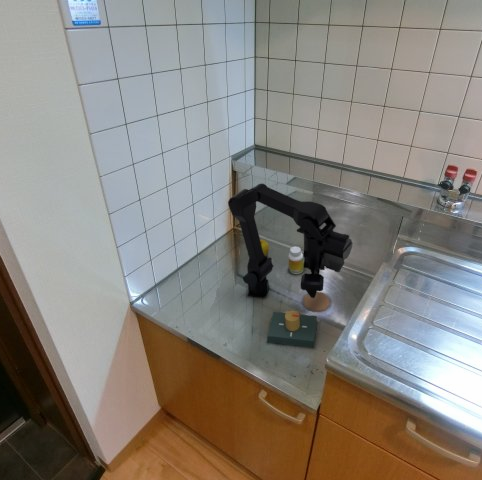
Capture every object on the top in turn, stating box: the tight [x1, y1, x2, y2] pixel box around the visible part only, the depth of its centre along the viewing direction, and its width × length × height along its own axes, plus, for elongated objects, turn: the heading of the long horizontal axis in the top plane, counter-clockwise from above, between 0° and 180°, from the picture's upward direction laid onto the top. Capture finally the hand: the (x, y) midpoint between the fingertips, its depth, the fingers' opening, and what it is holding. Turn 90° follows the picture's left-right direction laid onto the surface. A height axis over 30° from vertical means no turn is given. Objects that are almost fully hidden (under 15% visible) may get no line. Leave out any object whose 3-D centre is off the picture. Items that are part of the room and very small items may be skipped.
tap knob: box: [285, 309, 300, 331], centre depth 114 cm, size 4×4×5 cm
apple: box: [260, 238, 270, 256], centre depth 148 cm, size 6×6×8 cm
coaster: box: [302, 291, 331, 313], centre depth 127 cm, size 9×9×1 cm
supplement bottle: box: [288, 246, 304, 275], centre depth 139 cm, size 5×5×10 cm
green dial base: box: [267, 311, 318, 348], centre depth 116 cm, size 14×10×3 cm
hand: (314, 286), depth 114 cm, fingers open, 9 cm apart
